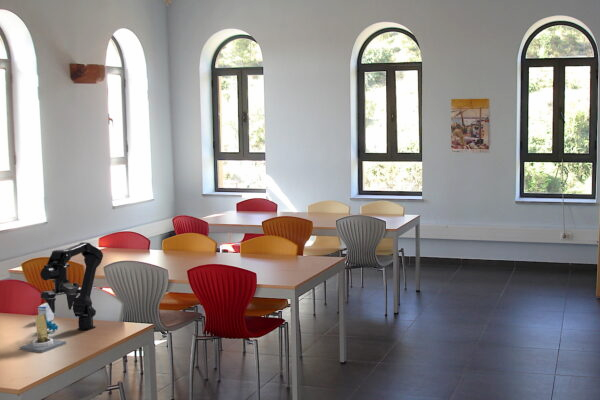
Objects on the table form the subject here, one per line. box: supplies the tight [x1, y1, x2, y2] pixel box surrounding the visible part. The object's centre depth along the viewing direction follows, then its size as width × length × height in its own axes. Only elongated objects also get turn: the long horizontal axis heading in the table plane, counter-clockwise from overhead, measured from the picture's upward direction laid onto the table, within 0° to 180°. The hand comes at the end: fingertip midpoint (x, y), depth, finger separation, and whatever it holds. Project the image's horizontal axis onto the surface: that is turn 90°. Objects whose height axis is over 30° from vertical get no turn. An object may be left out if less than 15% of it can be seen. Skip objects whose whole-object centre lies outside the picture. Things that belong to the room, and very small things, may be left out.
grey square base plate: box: [19, 337, 67, 353], centre depth 347 cm, size 14×14×3 cm
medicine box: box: [37, 302, 55, 322], centre depth 392 cm, size 8×4×9 cm, turn 172°
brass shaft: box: [34, 314, 49, 343], centre depth 346 cm, size 4×4×13 cm
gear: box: [46, 319, 59, 332], centre depth 370 cm, size 11×6×10 cm
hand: (61, 311), depth 358 cm, fingers open, 9 cm apart
